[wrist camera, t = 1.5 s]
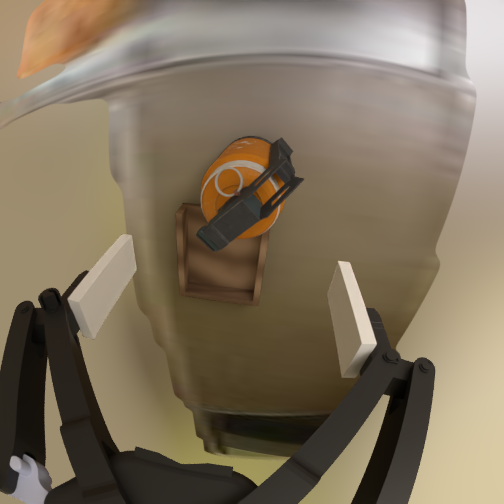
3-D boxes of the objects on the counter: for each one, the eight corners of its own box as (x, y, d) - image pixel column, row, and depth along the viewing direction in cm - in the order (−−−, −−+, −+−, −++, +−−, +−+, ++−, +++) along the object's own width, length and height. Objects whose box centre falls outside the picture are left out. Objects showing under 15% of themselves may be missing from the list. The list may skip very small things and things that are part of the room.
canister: (209, 162, 40) (159, 219, 23) (266, 114, 35) (259, 131, 19) (248, 204, 43) (230, 287, 26) (306, 161, 39) (331, 220, 22)
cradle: (183, 203, 44) (175, 213, 40) (270, 212, 43) (270, 224, 40) (185, 281, 52) (180, 295, 49) (259, 291, 52) (258, 306, 49)
